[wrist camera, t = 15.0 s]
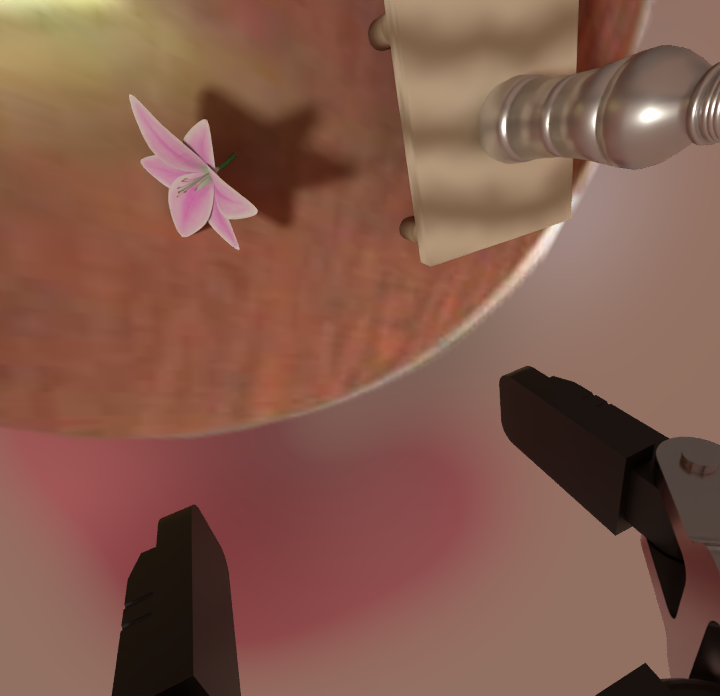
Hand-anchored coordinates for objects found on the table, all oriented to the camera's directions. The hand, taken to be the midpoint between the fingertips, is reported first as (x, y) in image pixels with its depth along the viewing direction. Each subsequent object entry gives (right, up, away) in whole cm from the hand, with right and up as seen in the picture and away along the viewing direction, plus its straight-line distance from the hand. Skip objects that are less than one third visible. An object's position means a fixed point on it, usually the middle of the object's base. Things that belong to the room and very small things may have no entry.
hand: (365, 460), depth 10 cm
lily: (-15, +18, +28) cm, 37 cm away
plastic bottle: (+12, +23, +28) cm, 38 cm away
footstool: (+10, +26, +34) cm, 44 cm away
